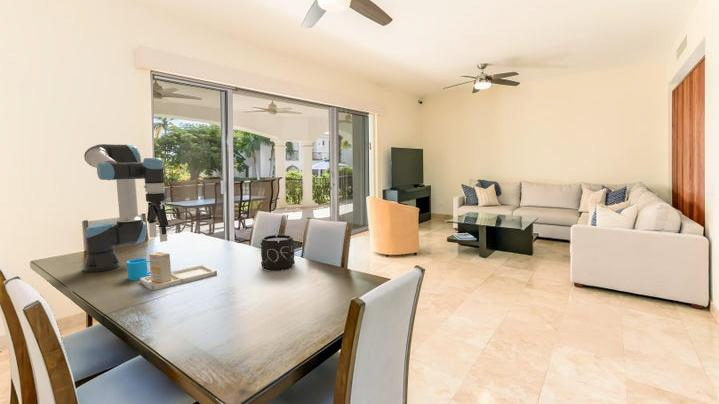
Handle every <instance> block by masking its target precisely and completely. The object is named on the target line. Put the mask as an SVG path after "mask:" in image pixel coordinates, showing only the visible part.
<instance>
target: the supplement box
mask: <svg viewBox="0 0 719 404" xmlns="http://www.w3.org/2000/svg"><path fill="white" fill-rule="evenodd" d="M148 255H149V261H150V262H149V267H150V268H149V269H150V272H151V273H150V276H151V281H152V282H157V283H164V282H169V281H172V280H171V271H172V270H171V269H172V267H171V254H170V253H167V252H161V251H157V252H153V253H149V254H148Z"/></svg>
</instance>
